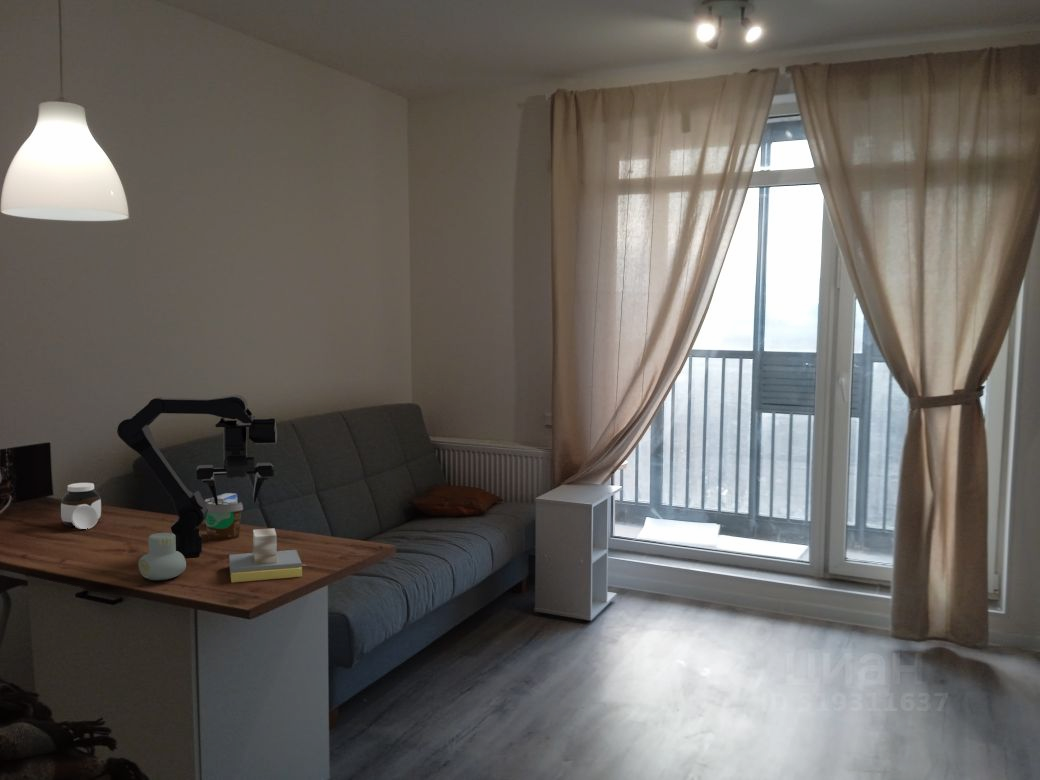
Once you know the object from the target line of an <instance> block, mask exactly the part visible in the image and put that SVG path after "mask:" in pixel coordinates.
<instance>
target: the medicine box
mask: <svg viewBox="0 0 1040 780" xmlns="http://www.w3.org/2000/svg"><path fill="white" fill-rule="evenodd" d="M217 499H218V502H227V503H230V504H236V503H238V494H237V493H234V492H233V493H232V492H228V493H227V492H225V493H222V494H219V495H217ZM210 501H211V502H215V501H214V498H213V497H211V498H210Z"/></svg>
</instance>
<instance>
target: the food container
mask: <svg viewBox="0 0 1040 780" xmlns="http://www.w3.org/2000/svg"><path fill="white" fill-rule="evenodd" d="M204 500H205V501H206V502H207V504H206V506H207V508H208V513H207V516H206V518H205V525H206V535H207V538H208V539H210V540H214V541H216V540H217V541H225V540H233V539H238V538H240V532H241V531H240V530H241V517H242V511H243V510H244V505H243V503H242V501H241V502H237V503H236V504H230V503H227V502H218V505H216V504H215V502H211V501H210V498H206V499H204Z"/></svg>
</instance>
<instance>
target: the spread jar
mask: <svg viewBox="0 0 1040 780" xmlns="http://www.w3.org/2000/svg"><path fill="white" fill-rule="evenodd" d="M60 501H61V503H60V517H61V520H62V522H63V523H64V524H65V525H66V526H68V527H70V526H75V527H74V528H77V529H79V530H81V529H86V530H89V529H92V528H93V527H94V526H96V524H97V522H98V521H99V520H100V518H101V515H102V499H101V496H100V494H98V492H97V491H96V490H95V484H94V483H92V482H77V483H70V484H68V485H67V492H66V493H65V494H64V495H63V497H62V499H61V500H60ZM87 528H88V529H87Z"/></svg>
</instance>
